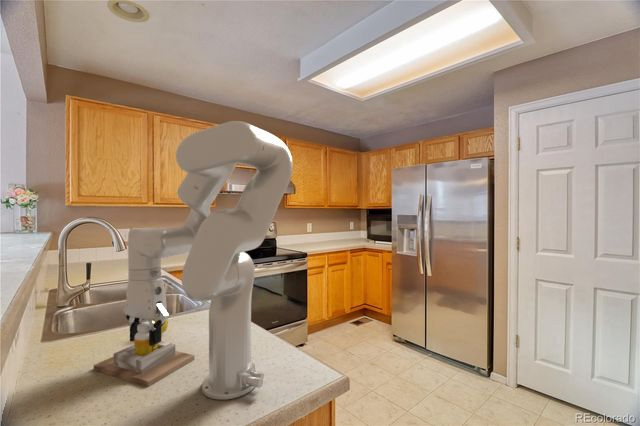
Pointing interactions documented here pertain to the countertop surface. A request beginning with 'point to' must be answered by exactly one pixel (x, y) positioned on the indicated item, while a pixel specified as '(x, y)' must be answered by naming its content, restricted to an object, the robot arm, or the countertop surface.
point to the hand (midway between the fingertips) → (145, 340)
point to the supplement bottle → (143, 340)
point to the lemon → (163, 325)
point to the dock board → (148, 374)
